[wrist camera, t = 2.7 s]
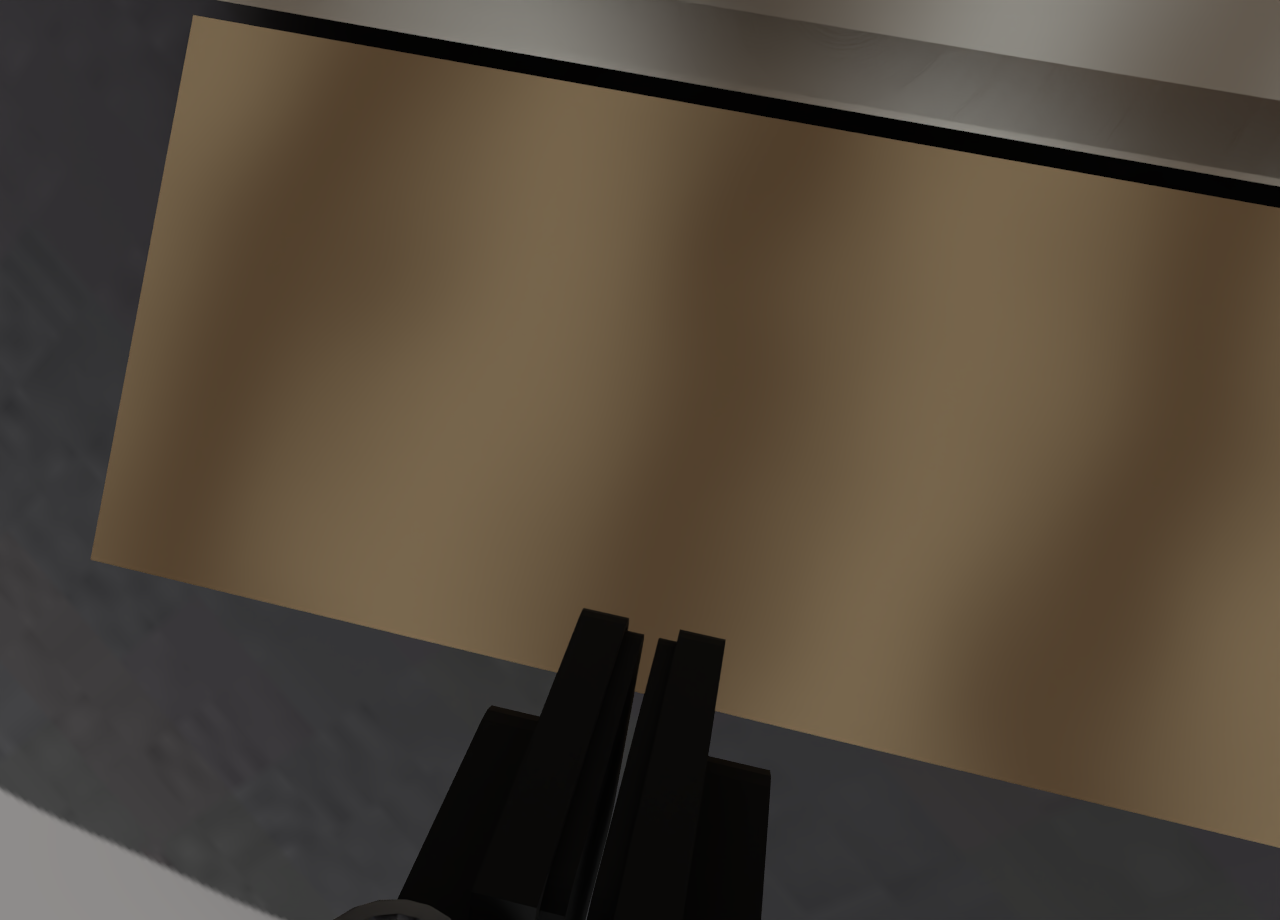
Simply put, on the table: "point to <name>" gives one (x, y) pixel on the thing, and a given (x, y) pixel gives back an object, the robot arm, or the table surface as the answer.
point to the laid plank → (925, 62)
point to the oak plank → (723, 411)
